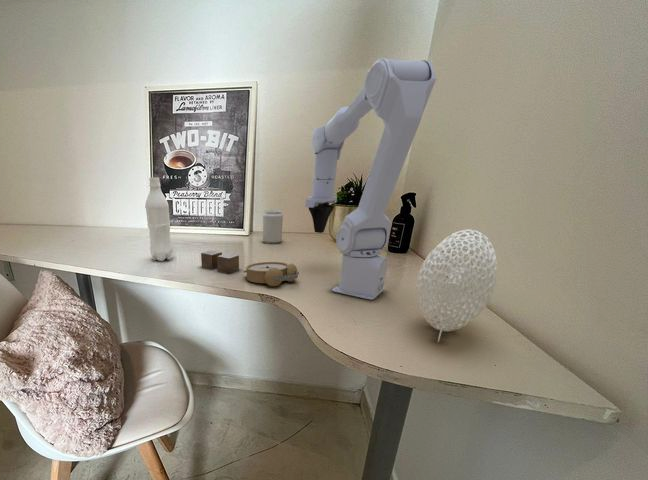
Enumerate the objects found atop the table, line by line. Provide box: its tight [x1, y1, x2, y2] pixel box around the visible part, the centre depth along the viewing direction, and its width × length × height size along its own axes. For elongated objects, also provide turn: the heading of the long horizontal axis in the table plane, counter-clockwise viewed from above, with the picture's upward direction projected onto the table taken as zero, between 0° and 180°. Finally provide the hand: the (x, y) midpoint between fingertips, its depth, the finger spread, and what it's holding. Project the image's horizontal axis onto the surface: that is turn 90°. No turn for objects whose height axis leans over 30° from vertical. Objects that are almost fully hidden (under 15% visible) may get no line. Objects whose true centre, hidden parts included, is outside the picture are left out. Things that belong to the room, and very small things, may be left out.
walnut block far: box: [200, 250, 223, 271], centre depth 99 cm, size 4×4×4 cm
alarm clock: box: [242, 261, 300, 287], centre depth 87 cm, size 11×5×15 cm
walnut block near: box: [217, 252, 240, 274], centre depth 96 cm, size 4×4×4 cm
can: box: [262, 209, 284, 244], centre depth 130 cm, size 8×8×12 cm
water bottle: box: [144, 176, 174, 262], centre depth 105 cm, size 7×7×25 cm
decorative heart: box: [415, 228, 498, 343], centre depth 56 cm, size 18×11×17 cm, turn 141°
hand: (319, 232), depth 93 cm, fingers closed
